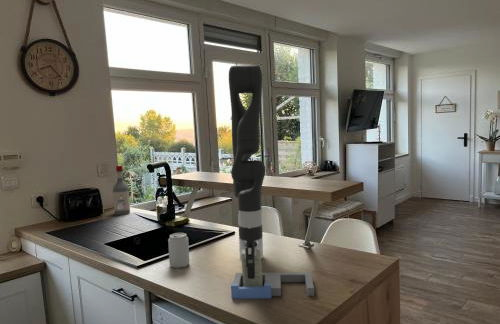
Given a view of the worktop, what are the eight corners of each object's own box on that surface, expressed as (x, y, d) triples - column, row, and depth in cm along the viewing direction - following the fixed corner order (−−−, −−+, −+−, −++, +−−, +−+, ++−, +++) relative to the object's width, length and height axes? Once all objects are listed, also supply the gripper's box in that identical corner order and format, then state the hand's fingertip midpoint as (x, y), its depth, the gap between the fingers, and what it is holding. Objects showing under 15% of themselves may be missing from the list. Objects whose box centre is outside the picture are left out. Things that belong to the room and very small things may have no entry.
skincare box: (262, 284, 122) (261, 248, 121) (262, 290, 118) (261, 252, 117) (242, 285, 122) (241, 248, 121) (242, 291, 118) (241, 253, 117)
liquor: (130, 214, 230) (126, 166, 227) (114, 215, 227) (111, 167, 224) (130, 211, 239) (126, 164, 236) (114, 212, 236) (111, 165, 233)
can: (167, 263, 144) (166, 233, 142) (187, 260, 146) (185, 230, 145) (171, 270, 137) (170, 238, 136) (191, 266, 140) (190, 235, 138)
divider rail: (236, 280, 126) (235, 268, 126) (310, 279, 125) (310, 267, 124) (231, 298, 113) (231, 285, 112) (314, 298, 111) (314, 285, 111)
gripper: (240, 217, 125) (242, 264, 127) (236, 229, 111) (238, 282, 113) (262, 217, 125) (264, 264, 126) (261, 229, 110) (263, 282, 112)
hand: (252, 272), depth 119 cm, fingers open, 8 cm apart
